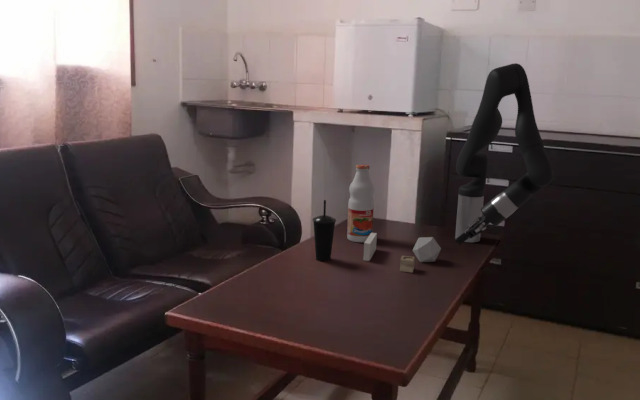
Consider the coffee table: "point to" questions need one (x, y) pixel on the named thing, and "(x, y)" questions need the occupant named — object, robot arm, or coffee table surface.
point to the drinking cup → (323, 235)
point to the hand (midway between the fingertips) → (457, 242)
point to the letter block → (407, 264)
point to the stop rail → (370, 246)
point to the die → (426, 249)
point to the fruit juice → (360, 206)
